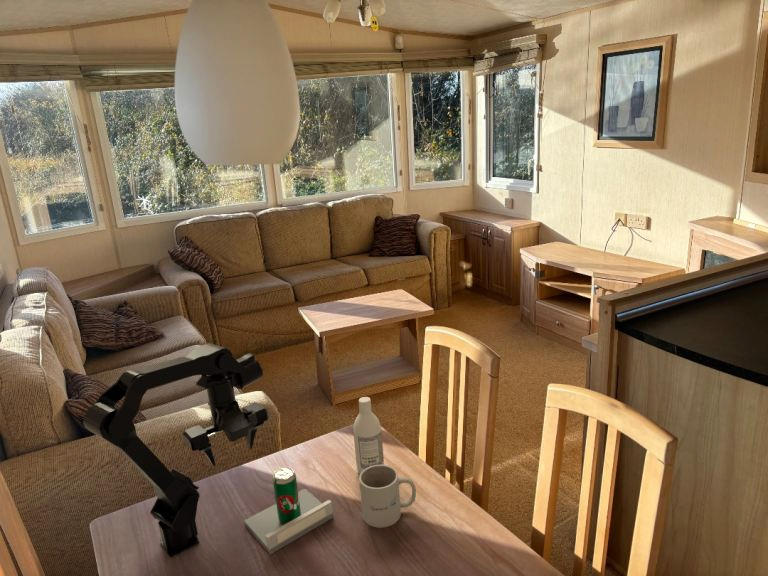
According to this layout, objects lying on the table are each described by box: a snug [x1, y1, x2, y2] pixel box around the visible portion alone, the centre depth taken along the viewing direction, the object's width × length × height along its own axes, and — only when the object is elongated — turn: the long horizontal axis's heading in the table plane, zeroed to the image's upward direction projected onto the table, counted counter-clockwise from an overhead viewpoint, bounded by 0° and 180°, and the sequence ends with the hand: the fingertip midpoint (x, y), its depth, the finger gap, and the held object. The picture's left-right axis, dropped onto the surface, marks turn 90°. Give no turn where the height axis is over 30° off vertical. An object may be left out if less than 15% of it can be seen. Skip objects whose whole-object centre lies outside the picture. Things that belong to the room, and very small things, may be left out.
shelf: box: [243, 488, 334, 555], centre depth 124 cm, size 16×12×4 cm
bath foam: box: [352, 396, 385, 475], centre depth 138 cm, size 7×7×20 cm
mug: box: [358, 464, 417, 528], centre depth 124 cm, size 12×9×10 cm
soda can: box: [272, 466, 301, 525], centre depth 122 cm, size 5×5×12 cm
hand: (232, 456), depth 130 cm, fingers open, 9 cm apart
